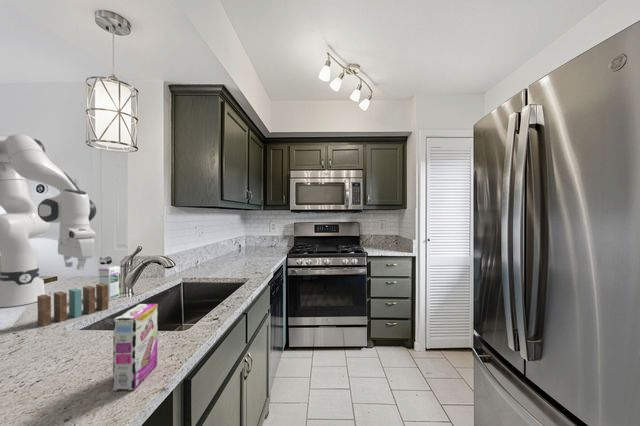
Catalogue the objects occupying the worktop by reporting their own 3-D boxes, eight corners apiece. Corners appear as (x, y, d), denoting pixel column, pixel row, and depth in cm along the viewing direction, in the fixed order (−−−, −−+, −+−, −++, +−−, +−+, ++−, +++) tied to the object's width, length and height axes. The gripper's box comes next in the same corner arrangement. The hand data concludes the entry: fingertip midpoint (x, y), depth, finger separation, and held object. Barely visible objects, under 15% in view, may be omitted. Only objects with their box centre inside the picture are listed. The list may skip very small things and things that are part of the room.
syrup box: (109, 300, 129) (109, 268, 129) (98, 299, 131) (98, 267, 130) (120, 296, 135) (120, 265, 135) (110, 296, 136) (110, 265, 136)
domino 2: (59, 322, 105) (59, 294, 105) (54, 319, 107) (53, 292, 107) (66, 320, 106) (66, 293, 106) (60, 317, 109) (60, 291, 109)
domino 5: (102, 310, 117) (102, 285, 116) (96, 308, 119) (96, 284, 119) (108, 309, 118) (107, 284, 118) (101, 307, 121) (101, 283, 121)
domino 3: (75, 314, 113) (75, 288, 113) (81, 316, 110) (81, 290, 110) (69, 315, 111) (68, 289, 111) (75, 318, 109) (74, 291, 109)
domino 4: (89, 314, 113) (89, 288, 112) (83, 312, 115) (82, 286, 115) (95, 312, 114) (95, 287, 114) (89, 310, 117) (88, 285, 117)
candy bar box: (135, 391, 65) (135, 318, 65) (112, 392, 65) (111, 319, 64) (159, 364, 76) (158, 302, 76) (139, 365, 76) (138, 303, 76)
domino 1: (43, 326, 101) (43, 297, 101) (37, 323, 103) (37, 295, 103) (51, 324, 103) (50, 296, 102) (45, 321, 105) (44, 294, 105)
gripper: (52, 231, 113) (52, 266, 113) (77, 234, 103) (76, 272, 103) (72, 230, 118) (72, 264, 118) (97, 233, 108) (97, 269, 109)
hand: (74, 268), depth 111 cm, fingers open, 8 cm apart
